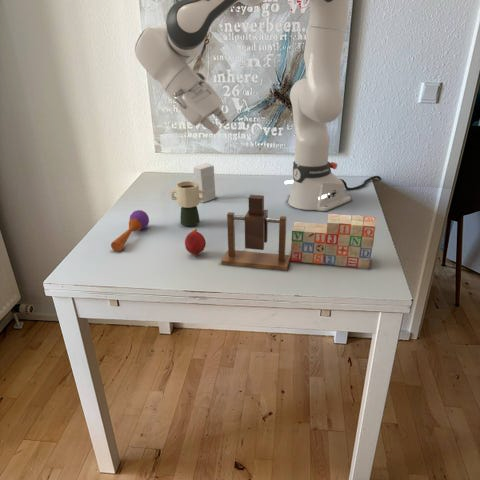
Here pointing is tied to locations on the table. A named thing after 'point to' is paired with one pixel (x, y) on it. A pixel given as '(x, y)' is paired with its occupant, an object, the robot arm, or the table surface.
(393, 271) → the table surface
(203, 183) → the cosmetic box
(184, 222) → the character mug
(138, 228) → the kendama
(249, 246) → the brown stepped block
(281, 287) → the table surface
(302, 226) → the stack of blocks
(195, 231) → the onion
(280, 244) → the rail
